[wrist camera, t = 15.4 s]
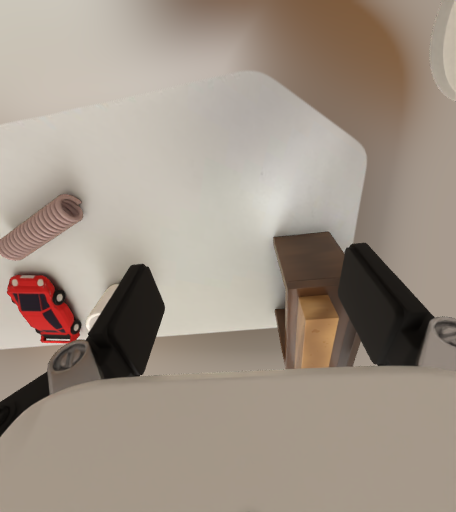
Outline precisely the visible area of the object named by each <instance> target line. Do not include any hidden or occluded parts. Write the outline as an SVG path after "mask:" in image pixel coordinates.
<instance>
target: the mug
mask: <svg viewBox="0 0 456 512" xmlns="http://www.w3.org/2000/svg"><path fill="white" fill-rule="evenodd" d="M118 285H119V284H114V285H112V286H110V287H109V288H108V289H107V290H106V291H105V292H104V294H103V295H102V297H101V298H100V300H99V301H98V303H97V304H96V306H95V307H94V309H93V310H92V312H91V313H90V315H89V316H88V318H87V320H86V327H87V329H88V331H90V330H91V328H92V326H93V325H94V323H95V322H96V320H97V318H98V317H99V315H100V314H101V312H102V310H103V309H104V307H105V306H106V304H107V302H108V301H109V299H110V298H111V296H112V295H113V293H114V291H115V290H116V288H117V287H118Z"/></svg>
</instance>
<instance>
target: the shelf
mask: <svg viewBox="0 0 456 512" xmlns="http://www.w3.org/2000/svg"><path fill="white" fill-rule="evenodd" d="M273 244H274V248H275V252H276V255H277V259H278V263H279V267H280V271H281V274H282V278H283V282H284V286H285V289H286V295H285V309H275V316H276V321H277V326H278V332H279V337H280V343H281V348H282V353H283V359H284V364H285V369H295V368H294V365H295V347H296V329H297V312H298V297H305V296H318V295H328V296H329V298H330V300H331V302H332V304H333V306H334V308H335V310H336V312H337V315H338V317H339V320H338V325H337V330H336V334H335V339H334V344H333V349H332V353H331V358H330V363H329V367H353V364H354V361H355V357H356V354H357V351H358V348H359V345H360V342H361V340H360V338H359V336H358V334H357V332H356V330H355V328H354V326H353V324H352V323H351V321H350V319H349V317H348V315H347V313H346V311H345V309H344V307H343V305H342V303H341V301H340V299H339V297H338V287H339V282H340V276H341V271H342V266H343V261H344V255H345V254H344V252H343V251H342V250H341V248H340V247H339V245H338V244H337V242H336V241H335V240H334V238H333V237H332V235H331V234H330V233H329V232H321V233H311V234H301V235H292V236H282V237H273Z"/></svg>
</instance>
